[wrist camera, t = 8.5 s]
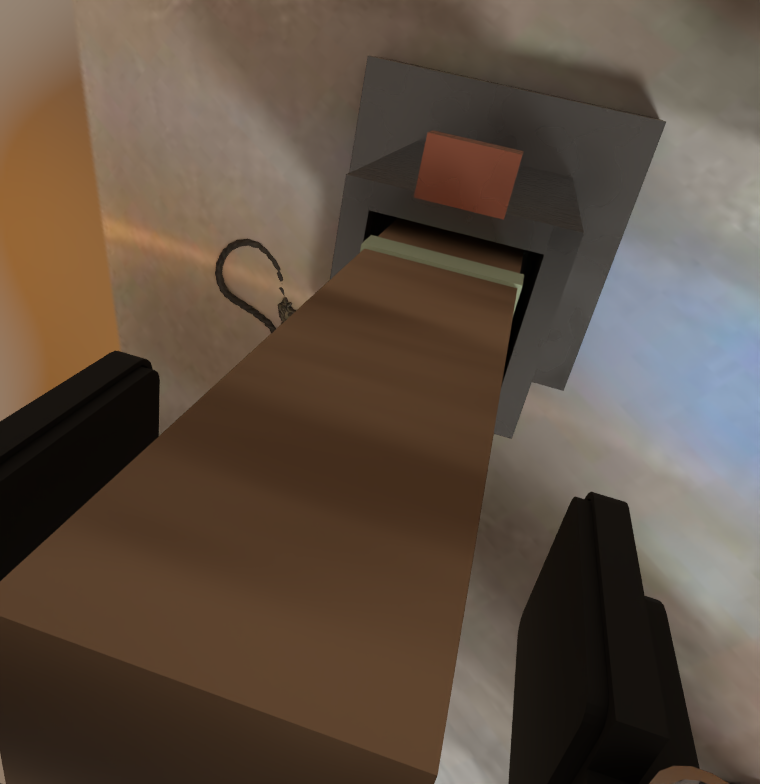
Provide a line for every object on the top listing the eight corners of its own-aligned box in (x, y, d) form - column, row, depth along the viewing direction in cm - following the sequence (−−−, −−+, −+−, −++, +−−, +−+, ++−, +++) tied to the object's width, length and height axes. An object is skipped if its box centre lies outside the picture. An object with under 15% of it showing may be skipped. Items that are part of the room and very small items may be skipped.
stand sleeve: (562, 377, 31) (569, 544, 20) (334, 314, 32) (221, 437, 21) (660, 119, 25) (745, 153, 14) (376, 57, 27) (252, 42, 16)
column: (492, 356, 22) (357, 994, 7) (378, 325, 22) (12, 849, 7) (529, 239, 20) (453, 771, 5) (402, 208, 20) (-40, 594, 5)
